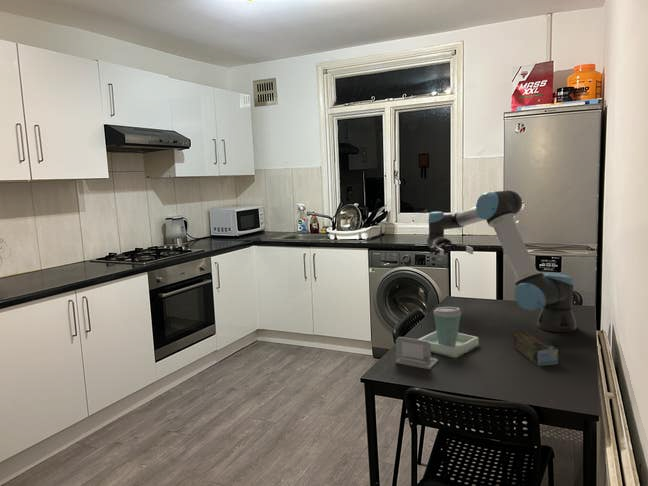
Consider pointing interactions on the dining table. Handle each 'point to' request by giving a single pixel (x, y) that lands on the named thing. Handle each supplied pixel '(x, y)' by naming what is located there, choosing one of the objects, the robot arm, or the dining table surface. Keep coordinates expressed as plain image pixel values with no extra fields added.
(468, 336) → the sage tray
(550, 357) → the beverage carton
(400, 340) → the handheld gaming console
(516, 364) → the dining table surface
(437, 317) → the disposable coffee cup
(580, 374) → the dining table surface
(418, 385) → the dining table surface
